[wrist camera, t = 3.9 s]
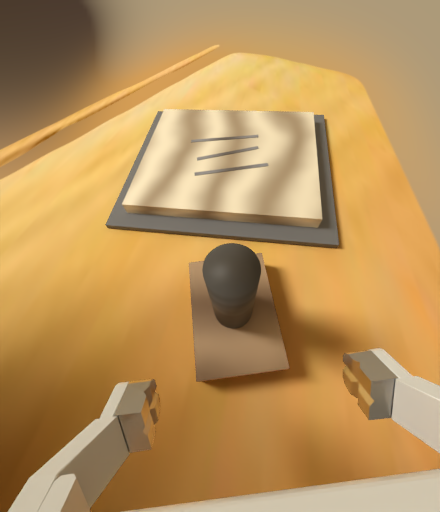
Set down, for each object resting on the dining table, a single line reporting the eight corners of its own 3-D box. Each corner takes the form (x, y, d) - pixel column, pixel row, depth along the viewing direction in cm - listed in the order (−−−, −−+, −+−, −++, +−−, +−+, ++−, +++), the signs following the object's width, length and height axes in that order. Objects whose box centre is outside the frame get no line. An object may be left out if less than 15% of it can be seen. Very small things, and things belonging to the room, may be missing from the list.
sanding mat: (107, 228, 28) (105, 225, 27) (159, 115, 38) (158, 111, 38) (336, 248, 24) (339, 245, 24) (322, 119, 35) (323, 115, 35)
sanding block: (283, 370, 19) (326, 358, 10) (201, 381, 19) (169, 380, 10) (259, 264, 24) (273, 192, 15) (193, 273, 24) (166, 206, 15)
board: (127, 212, 28) (121, 203, 26) (166, 118, 37) (164, 108, 35) (317, 227, 25) (322, 218, 24) (310, 122, 34) (313, 111, 33)
